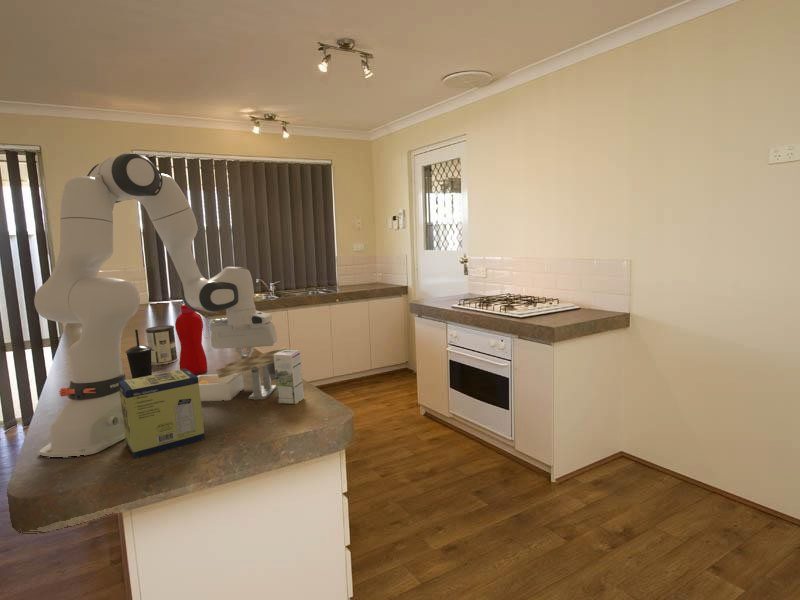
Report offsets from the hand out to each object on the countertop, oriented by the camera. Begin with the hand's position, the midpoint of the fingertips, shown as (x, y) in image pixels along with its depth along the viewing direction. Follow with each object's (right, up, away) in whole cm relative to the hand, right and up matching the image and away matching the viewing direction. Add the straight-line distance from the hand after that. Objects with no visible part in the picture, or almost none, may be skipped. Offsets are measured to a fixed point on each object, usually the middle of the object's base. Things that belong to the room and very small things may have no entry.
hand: (246, 360), depth 158 cm
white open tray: (-8, -10, -6) cm, 14 cm away
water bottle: (-25, -7, +24) cm, 36 cm away
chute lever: (+6, -5, -3) cm, 9 cm away
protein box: (-6, -14, -40) cm, 43 cm away
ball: (-11, -7, -6) cm, 15 cm away
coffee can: (-47, -6, +43) cm, 64 cm away
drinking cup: (-34, -10, +4) cm, 36 cm away
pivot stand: (+7, -9, -6) cm, 13 cm away
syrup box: (+18, -10, -15) cm, 25 cm away
